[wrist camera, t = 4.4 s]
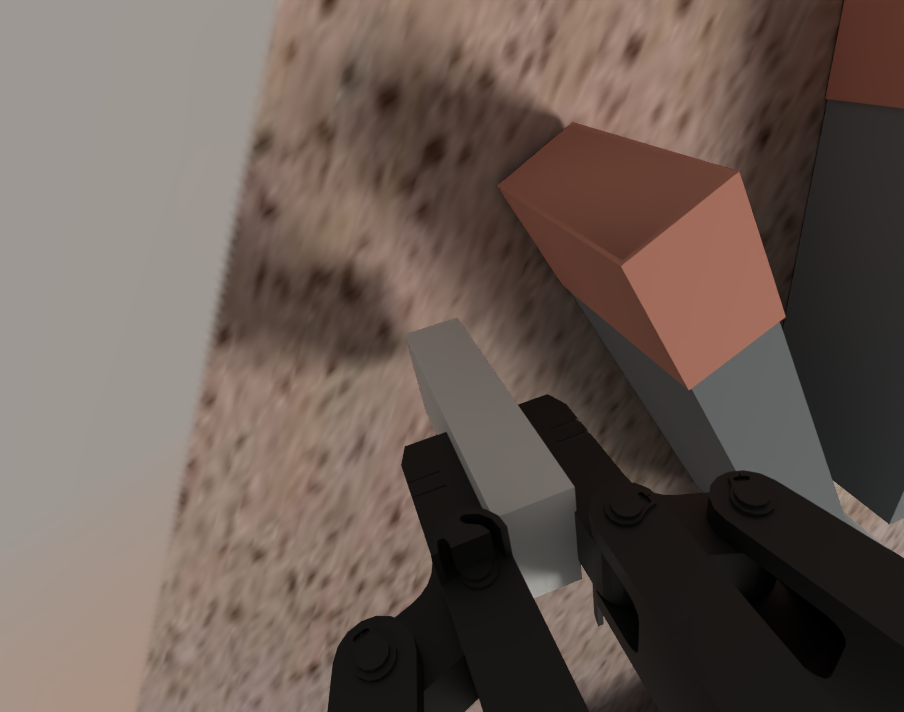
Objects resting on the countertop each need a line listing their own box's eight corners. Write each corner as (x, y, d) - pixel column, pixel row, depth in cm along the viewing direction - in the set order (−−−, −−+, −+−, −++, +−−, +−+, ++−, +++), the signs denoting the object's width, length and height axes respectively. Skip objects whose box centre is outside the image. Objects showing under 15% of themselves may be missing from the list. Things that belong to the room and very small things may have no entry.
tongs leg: (741, 453, 25) (863, 560, 20) (695, 487, 25) (804, 601, 20) (572, 122, 14) (738, 171, 9) (496, 186, 15) (620, 266, 10)
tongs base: (786, 497, 29) (909, 605, 23) (701, 533, 28) (809, 653, 22) (932, -79, 15) (1312, -138, 10) (775, -41, 14) (1092, -82, 9)
